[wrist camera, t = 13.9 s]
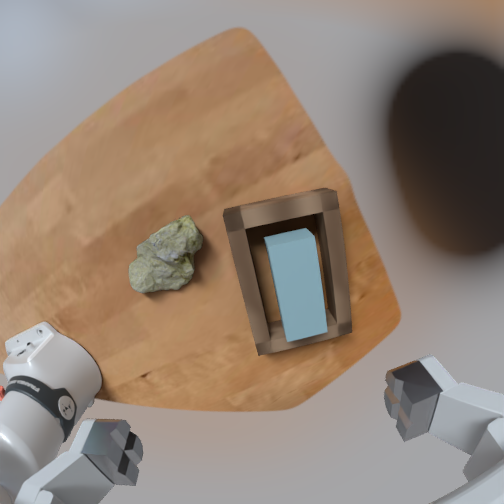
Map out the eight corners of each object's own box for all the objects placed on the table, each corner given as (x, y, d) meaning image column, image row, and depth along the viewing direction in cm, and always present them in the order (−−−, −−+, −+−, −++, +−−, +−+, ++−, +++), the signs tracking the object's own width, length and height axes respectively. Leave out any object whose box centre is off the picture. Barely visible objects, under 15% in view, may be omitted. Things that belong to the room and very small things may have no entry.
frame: (256, 337, 43) (258, 355, 38) (224, 209, 37) (222, 215, 33) (342, 316, 43) (352, 332, 38) (325, 187, 37) (336, 191, 33)
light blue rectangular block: (264, 237, 35) (267, 246, 31) (306, 228, 35) (314, 236, 31) (282, 325, 38) (287, 342, 35) (319, 316, 38) (327, 331, 34)
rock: (139, 283, 41) (205, 292, 40) (117, 301, 35) (192, 313, 34) (136, 208, 38) (207, 212, 37) (111, 215, 32) (192, 220, 31)
